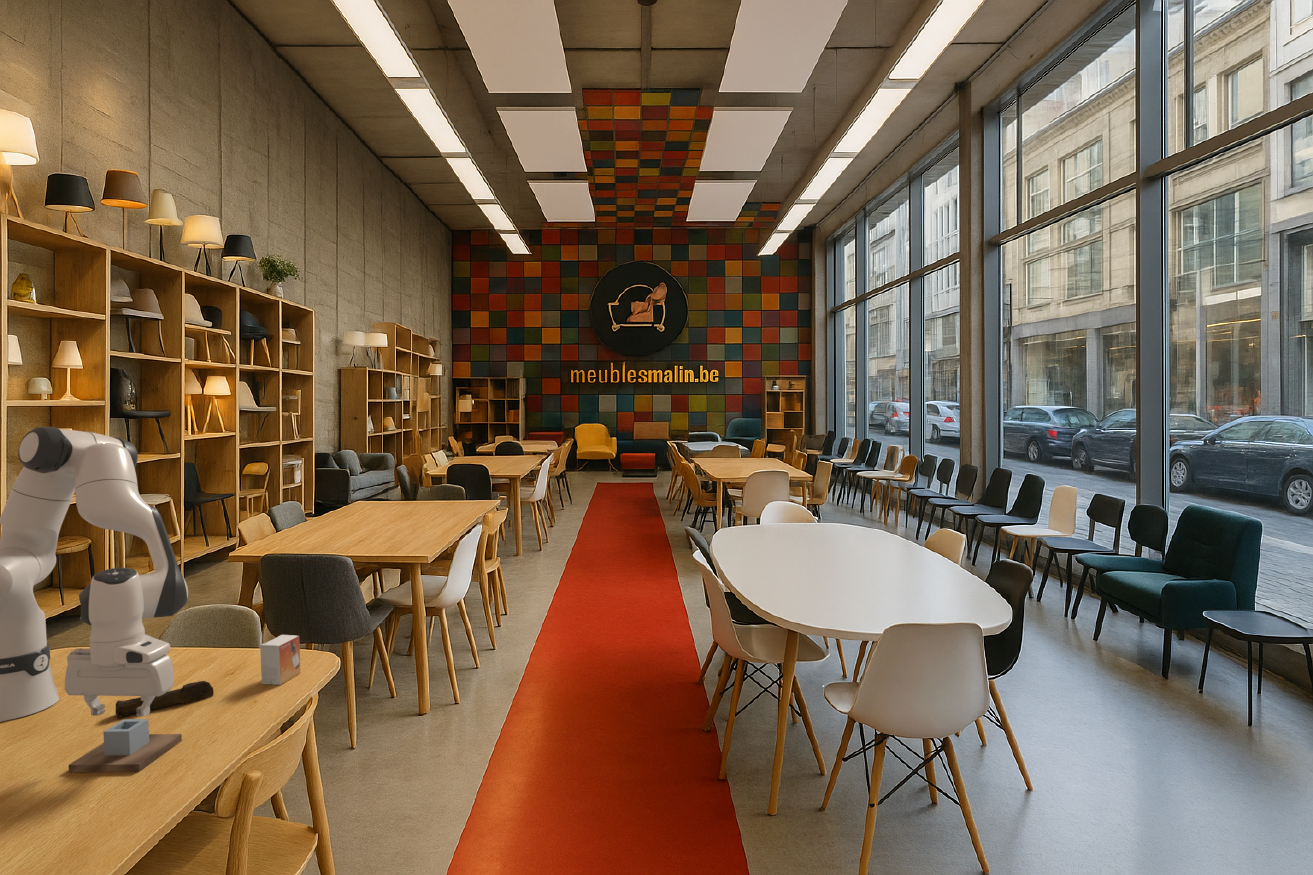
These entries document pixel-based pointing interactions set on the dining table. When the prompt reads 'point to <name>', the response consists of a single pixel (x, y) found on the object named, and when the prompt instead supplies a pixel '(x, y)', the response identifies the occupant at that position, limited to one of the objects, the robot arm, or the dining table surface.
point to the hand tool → (168, 698)
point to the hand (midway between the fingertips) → (120, 714)
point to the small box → (280, 659)
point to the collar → (126, 737)
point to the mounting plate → (126, 756)
